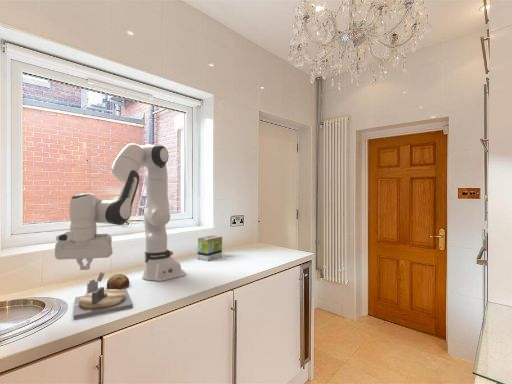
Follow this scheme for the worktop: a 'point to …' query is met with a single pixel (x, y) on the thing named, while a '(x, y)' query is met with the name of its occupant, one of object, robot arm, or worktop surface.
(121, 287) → the bread roll
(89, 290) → the lighter
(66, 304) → the worktop surface
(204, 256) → the tea box
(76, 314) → the dial plate
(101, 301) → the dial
